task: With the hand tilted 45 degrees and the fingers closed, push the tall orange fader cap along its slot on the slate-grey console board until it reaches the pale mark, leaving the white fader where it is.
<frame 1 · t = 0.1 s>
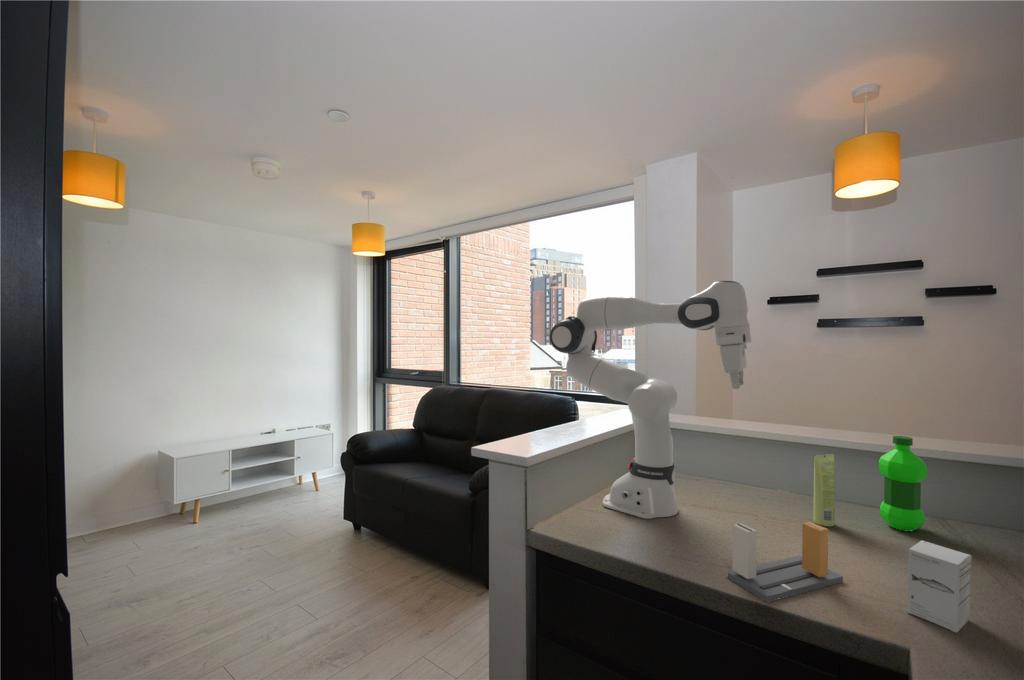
hand: (738, 386, 128), 39 cm above the worktop, tool pointing down, fingers open, 8 cm apart
console: (784, 579, 100), on the worktop
plastic bottle: (901, 528, 126), on the worktop
fader white: (744, 550, 99), point 7 cm above the worktop, slide at 0.0 cm
fader orange: (815, 548, 100), point 7 cm above the worktop, slide at 0.0 cm
supplement box: (938, 618, 87), on the worktop
tube: (824, 524, 129), on the worktop
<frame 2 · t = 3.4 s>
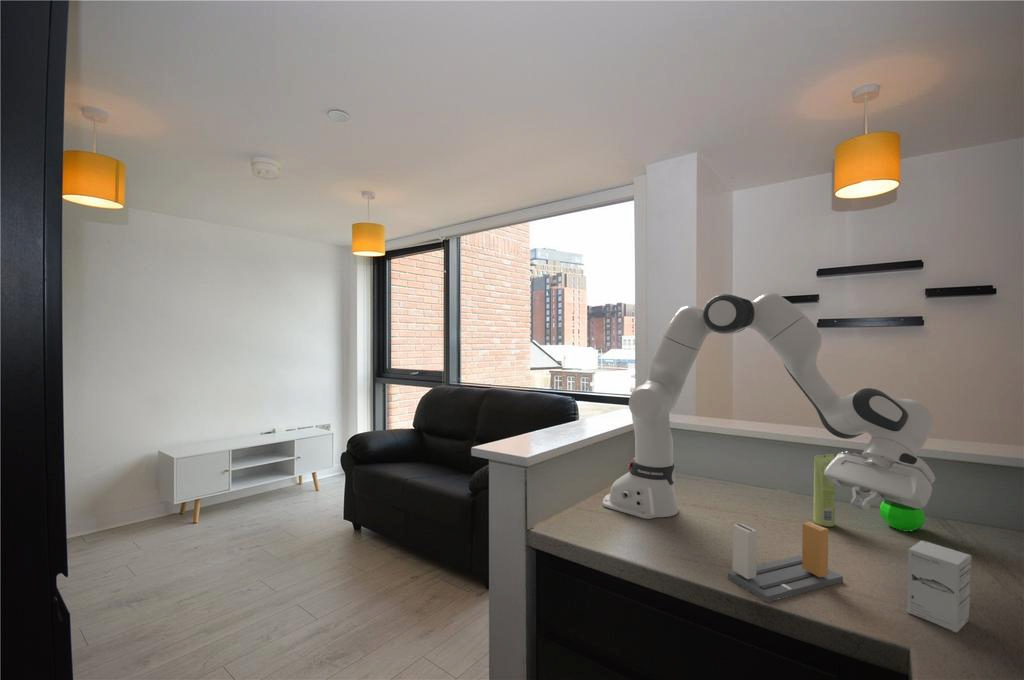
hand: (858, 507, 104), 14 cm above the worktop, tool tilted 45°, fingers closed
nothing on the worktop moved.
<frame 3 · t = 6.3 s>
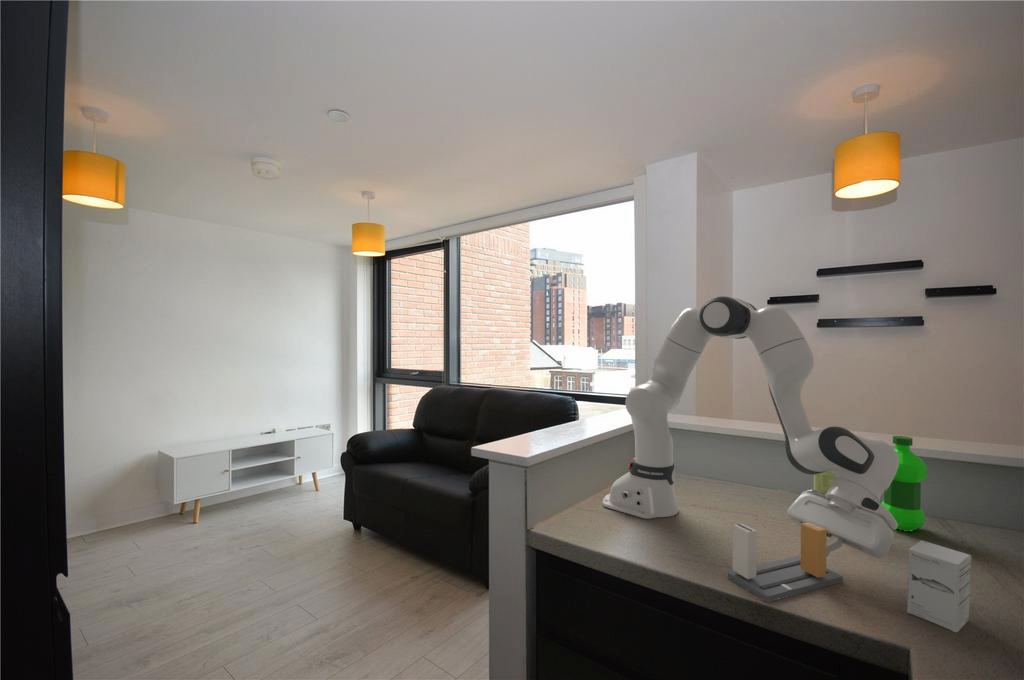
hand: (818, 552, 100), 6 cm above the worktop, tool tilted 45°, fingers closed, pressing on fader orange
fader orange: (813, 549, 99), point 7 cm above the worktop, slide at 0.5 cm, touching gripper
everything else where it was.
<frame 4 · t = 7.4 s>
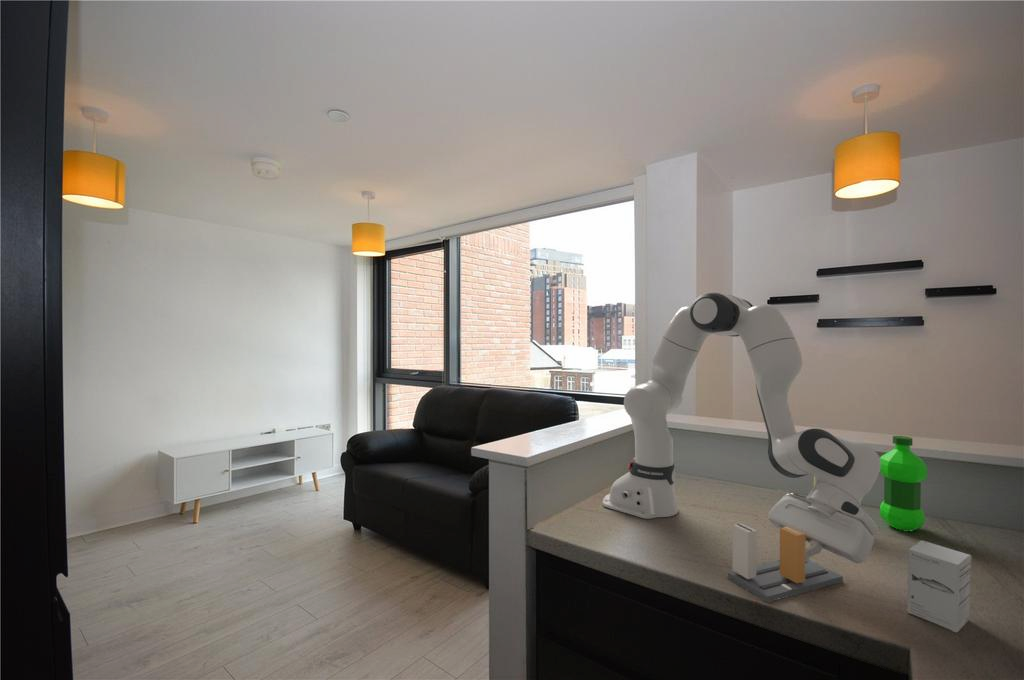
hand: (798, 557, 98), 6 cm above the worktop, tool tilted 45°, fingers closed, pressing on fader orange
fader orange: (792, 553, 97), point 7 cm above the worktop, slide at 6.8 cm, touching gripper
everything else where it was.
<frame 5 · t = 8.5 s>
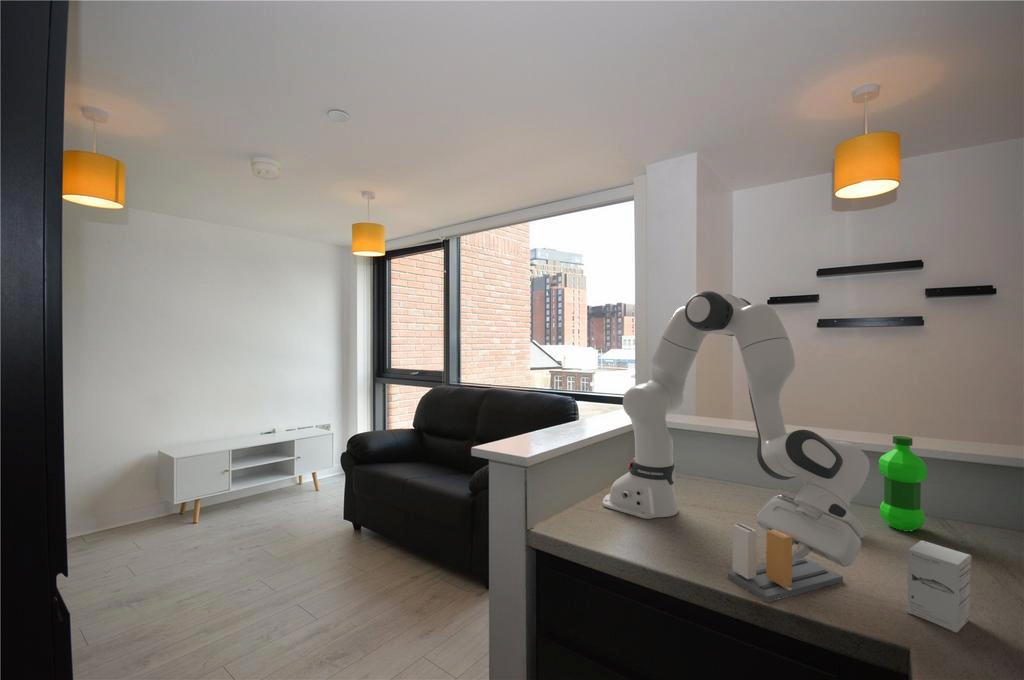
hand: (785, 560, 97), 6 cm above the worktop, tool tilted 45°, fingers closed, pressing on fader orange
fader orange: (779, 557, 96), point 7 cm above the worktop, slide at 10.7 cm, touching gripper
everything else where it was.
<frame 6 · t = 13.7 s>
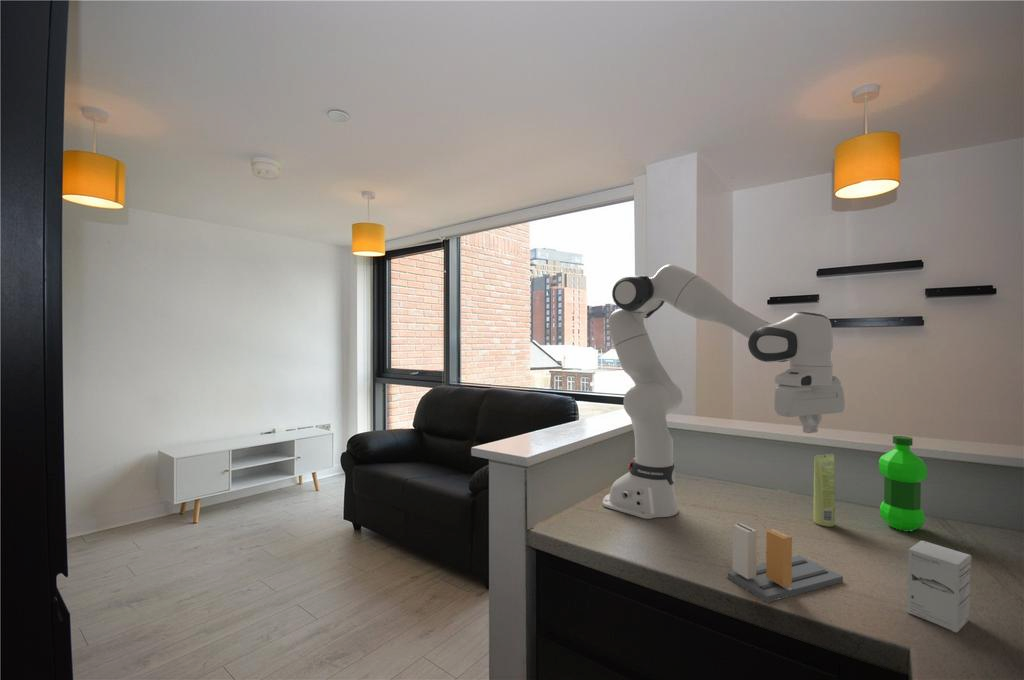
hand: (810, 432, 114), 29 cm above the worktop, tool pointing down, fingers closed
fader orange: (778, 557, 96), point 7 cm above the worktop, slide at 10.7 cm
everything else where it was.
at the end: fader orange slide at 10.7 cm; fader white slide at 0.0 cm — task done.
